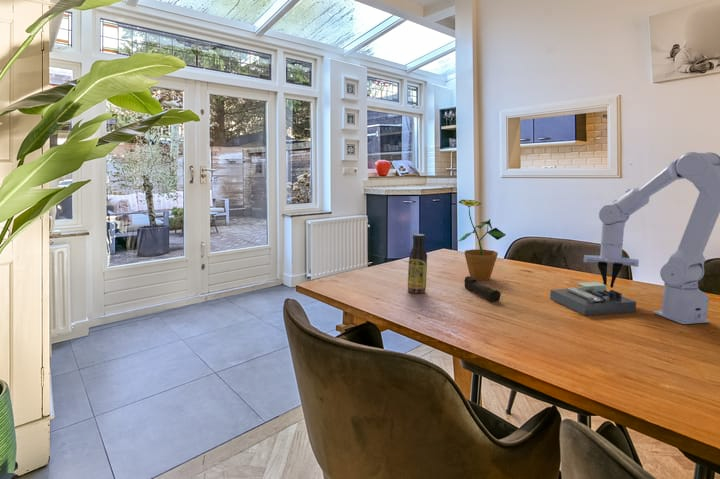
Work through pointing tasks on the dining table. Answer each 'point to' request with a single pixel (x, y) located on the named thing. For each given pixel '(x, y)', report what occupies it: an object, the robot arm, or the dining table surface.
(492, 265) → the potted plant
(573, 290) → the grey flat bar
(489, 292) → the hand tool
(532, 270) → the dining table surface
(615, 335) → the dining table surface
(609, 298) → the heatsink block
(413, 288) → the sauce bottle
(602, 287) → the catch
